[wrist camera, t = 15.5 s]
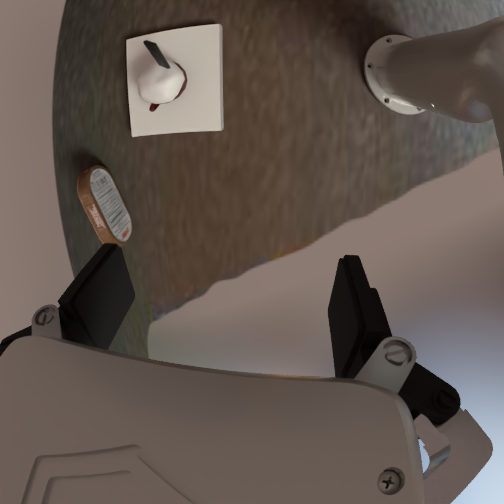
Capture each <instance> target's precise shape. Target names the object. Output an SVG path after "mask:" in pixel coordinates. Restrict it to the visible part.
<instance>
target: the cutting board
mask: <svg viewBox="0 0 504 504" xmlns="http://www.w3.org/2000/svg"><path fill="white" fill-rule="evenodd" d="M145 40H148V41H151V42H154V43H156V44H157V46H158V47H159V49H160V51H161V52H162V54H163V55H164V57H165V59H166V60H171V61H173V62H175V63H178V64H179V65H180V66H181V67H182V68H183V69H184V70H185V72H186V76H187V84H186V88H185V90H184V91H183V92H182V94H181V95H180V96H179V97H178V98H176V99H175V100H173V101H171V102H169V103H164V104H160V105H159V107H158V108H157V109H156V110H155V111H154V112H151V111H149V108H150V105H151V102H147V101H145V100H142V99H141V97H140V95H139V93H138V86H137V78H138V76H139V75H140V74H141V72H142V71H143V70H144V69H146V68H147V67H148V66H149V65H150V64H151V63H152V62H153V61H154V60H155V59H154V57H153V56H152V55H151V53H150V52H149V50H148V49H147V48H146V46H145V45H144V42H143V41H145ZM126 46H127V80H128V97H129V110H130V121H131V131H132V137H135V136H144V135H154V134H165V133H178V132H196V131H221V130H222V129H224V123H223V70H222V26H221V25H220V24H212V25H202V26H194V27H187V28H180V29H174V30H168V31H163V32H158V33H153V34H148V35H144V36H140V37H135V38H132V39H128V40H126Z"/></svg>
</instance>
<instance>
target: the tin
mask: <svg viewBox="0 0 504 504" xmlns="http://www.w3.org/2000/svg"><path fill="white" fill-rule="evenodd" d="M77 192H78V196H79V199H80V201H81V203H82V205H83V207H84V209H85V212H86V214H87V215H88V217H89V219H90V221H91V223H92V225H93V227H94V229H95V231H96V233H97V235H98V237H99V239H100V240H101V242H102V243H103V244H105V243H116V244H118V246H119V247H121V246H124V245H126V244H128V242H129V241H130V239H131V237H132V233H133V225H132V220H131V216H130V214H129V211H128V209H127V207H126V205H125V203H124V201H123V199H122V196H121V194H120V192H119V190H118V188H117V185H116V183H115V181H114V179H113V177H112V175H111V173H110V172H109V171H108V170H107V169H106V168H105V167H103V166H100V165H95V166H92V167H90V168H88V169H85V170H83V171H82V172H81V173H80V175H79V177H78V180H77Z"/></svg>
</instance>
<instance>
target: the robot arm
mask: <svg viewBox="0 0 504 504" xmlns="http://www.w3.org/2000/svg"><path fill="white" fill-rule="evenodd" d="M386 40H388V42H387V41H386ZM368 65H370V68H368ZM363 68H364V76H365V79H366V83H367V85H368V87H369V89H370V91H371V92H372V94H373V95H374V97H375V98H376V99H377V100H378V101H379V102H380V103H381V104H383V105H384V106H385V107H387V108H389V109H390V110H392V111H395V112H398V113H401V114H406V115H414V114H419V113H421V112H424V111H426V110H428V111H432V112H435V113H439V114H442V115H445V116H448V117H451V118H454V119H458V120H461V121H464V122H468V123H484V122H487V121H490V120H492V119H493V121H494V125H495V130H496V135H497V138H498V141H499V147H500V152H501V159H502V166H503V174H504V15H503V16H500V17H497V18H494V19H492V20H489V21H487V22H484V23H482V24H479V25H477V26H473V27H470V28H466V29H461V30H457V31H452V32H446V33H441V34H435V35H431V36H426V37H421V38H417V39H412V38H409V37H407V36H403V35H388V36H384V37H382V38H379V39H378V40H376V41H375V42H374V43H373V44H372V45H371V46H370V47H369V49H368V50H367V52H366V55H365V58H364V66H363ZM384 99H386V101H385V102H384ZM417 108H418V109H417ZM134 298H135V292H134V289H133V285H132V282H131V279H130V276H129V273H128V269H127V266H126V263H125V259H124V256H123V252H122V249H121V247H119V246H118V244H116V243H105V244H103V246H102V247H101V248H100V249H99V250H98V251H97V252H96V254H95V255H94V256H93V257H92V258H91V260H90V261H89V262H88V263H87V264H86V266H85V267H84V268H83V269H82V270H81V272H80V273H79V274H78V275H77V277H76V278H75V279H74V280H73V282H72V283H71V284H70V286H69V287H68V288H67V289H66V291H65V292H64V294H63V295H62V296H61V297H60V299H59V300H58V303H59V304H60V307H59V308H57V307H56V306H55V305H45V306H43V307H41V308H40V309H38V310H37V311H36V312H35V314H34V316H33V318H32V325H31V326H29V327H27V328H25V329H23V330H21V331H19V332H16V333H14V334H12V335H10V336H8V337H6V338H5V339H3V340H2V342H1V344H0V504H450V503H451V502H452V501H453V500H454V499H455V498H456V497H457V496H458V495H459V494H460V493H461V492H462V491H463V490H464V489H465V488H466V487H467V486H468V484H469V483H470V482H471V481H472V480H473V479H474V478H475V476H476V475H477V474H478V473H479V472H480V470H481V469H482V468H483V467H484V466H485V464H486V463H487V462H488V460H489V459H490V457H491V455H492V451H493V447H492V443H491V440H490V439H489V437H488V436H487V435H486V434H485V432H484V431H483V430H482V428H481V427H480V426H479V425H478V423H477V422H476V421H475V420H474V419H473V418H472V416H471V415H470V414H469V412H468V411H467V410H466V409H465V410H464V411H463V410H462V409H461V408H460V397H459V394H458V392H457V391H456V389H455V388H453V387H452V386H451V385H449V384H448V383H446V382H445V381H443V380H442V379H440V378H439V377H437V376H436V375H434V374H433V373H431V372H430V371H428V370H427V369H425V368H424V367H422V366H421V365H419V364H418V363H416V362H415V361H416V351H415V349H414V347H413V346H412V344H411V343H410V342H408V341H407V340H406V339H403V338H401V337H395V336H393V337H392V334H391V330H390V328H389V325H388V321H387V318H386V315H385V312H384V309H383V306H382V303H381V300H380V297H379V294H378V292H377V290H376V289H375V288H370V286H369V283H368V280H367V277H366V274H365V271H364V269H363V266H362V263H361V260H360V258H359V256H356V255H345V256H344V258H340V259H339V262H338V267H337V271H336V276H335V281H334V285H333V290H332V294H331V298H330V302H329V307H328V318H329V326H330V333H331V341H332V349H333V358H334V367H335V377H320V376H294V375H277V374H261V373H248V372H237V371H227V370H218V369H210V368H202V367H195V366H188V365H181V364H175V363H168V362H163V361H157V360H151V359H146V358H141V357H136V356H131V355H126V354H122V353H117V352H113V351H109V350H108V348H109V346H110V344H111V342H112V340H113V338H114V336H115V335H116V333H117V331H118V329H119V327H120V325H121V323H122V321H123V319H124V317H125V316H126V314H127V312H128V310H129V308H130V306H131V305H132V303H133V301H134ZM418 439H421V440H422V442H423V443H424V444H425V446H424V448H425V450H426V451H427V453H428V455H429V459H430V463H429V466H428V468H427V470H426V471H425V472H424V473H423V470H422V461H421V454H420V447H419V441H418ZM383 471H384V472H383ZM381 472H382V473H381Z"/></svg>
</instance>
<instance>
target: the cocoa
mask: <svg viewBox="0 0 504 504" xmlns="http://www.w3.org/2000/svg"><path fill="white" fill-rule="evenodd" d="M143 42H144V45H145V46H146V48H147V49H148V50H149V52H150V53H151V55H152V56H153V57H154V59H155V60H154V61H153V62H152V63H151V64H150V65H149V66H148V67H147V68H146V69H144V70H143V71H142V72H141V74H140V75H139V76H138V78H137V86H138V93H139V95H140V97H141V99H142V100H145V101H147V102H151V105H150V108H149V111H151V112H154V111H155V110H156V109H157V108H158V107H159V105H160V104H164V103H169V102H171V101H173V100H175V99H176V98H178V97H179V96H180V95H181V94H182V92H183V91H184V90H185V88H186V84H187V76H186V72H185V70H184V69H183V68H182V67H181V66H180V65H179V64H178V63H175V62H173V61H171V60H166V59H165V57H164V55H163V54H162V52H161V51H160V49H159V47H158V46H157V44H156V43H154V42H151V41H148V40H145V41H143Z"/></svg>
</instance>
